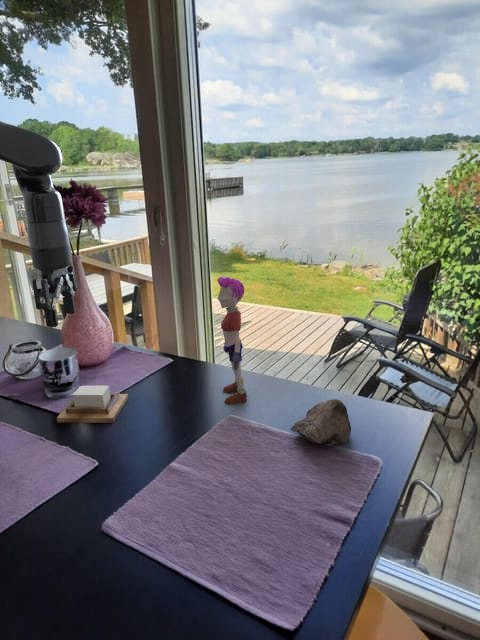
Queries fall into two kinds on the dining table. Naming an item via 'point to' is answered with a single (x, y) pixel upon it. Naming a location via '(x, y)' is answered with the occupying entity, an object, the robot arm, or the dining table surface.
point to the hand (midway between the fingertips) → (61, 319)
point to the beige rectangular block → (92, 396)
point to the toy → (232, 334)
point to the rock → (325, 424)
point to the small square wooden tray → (94, 411)
